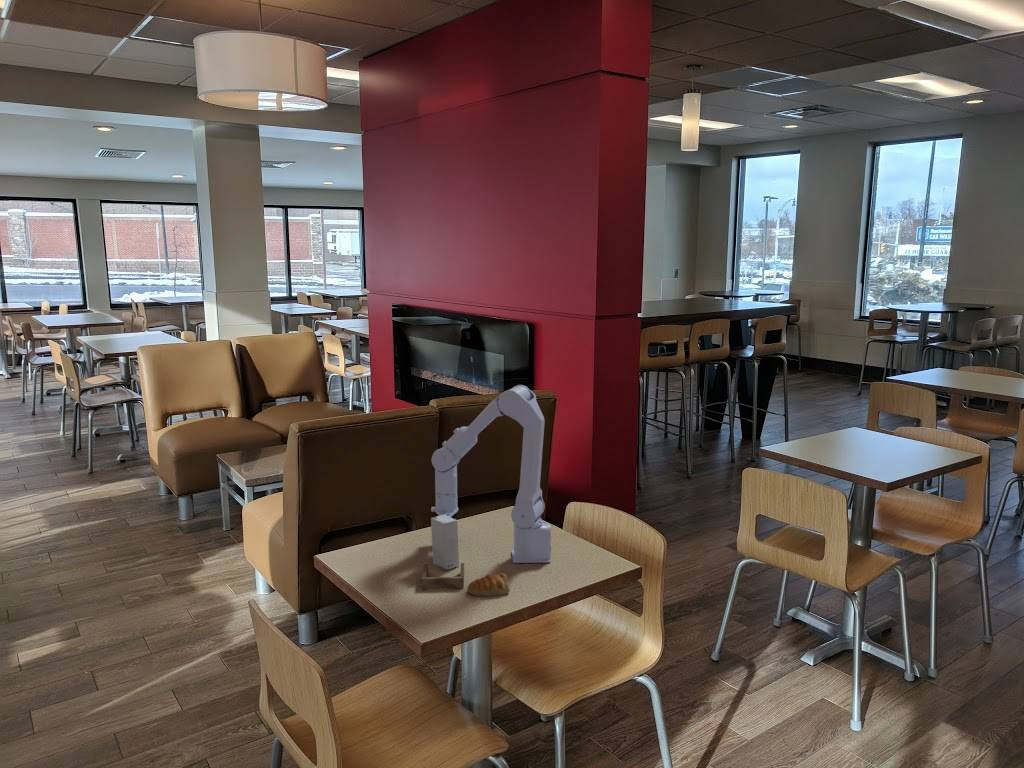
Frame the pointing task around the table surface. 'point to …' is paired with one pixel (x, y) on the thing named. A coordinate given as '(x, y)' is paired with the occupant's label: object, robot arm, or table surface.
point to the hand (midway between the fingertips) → (446, 541)
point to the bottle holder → (442, 580)
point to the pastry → (490, 585)
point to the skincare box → (445, 542)
